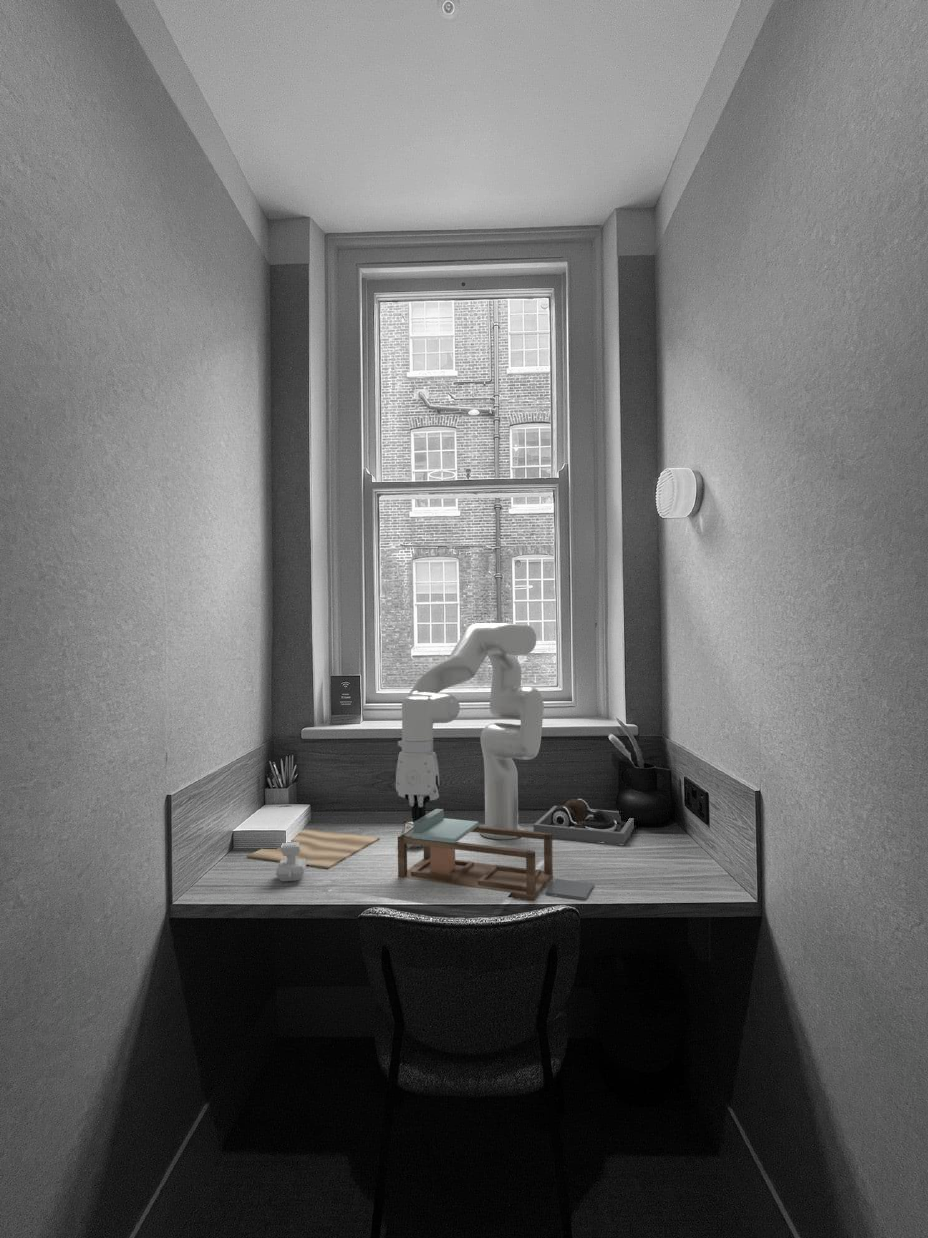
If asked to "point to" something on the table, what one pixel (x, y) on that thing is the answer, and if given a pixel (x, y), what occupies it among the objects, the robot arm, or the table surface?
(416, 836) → the lid
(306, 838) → the cork mat
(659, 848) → the table surface
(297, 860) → the stamp
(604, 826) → the headset
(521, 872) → the frame
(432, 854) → the block
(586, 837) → the tray rim
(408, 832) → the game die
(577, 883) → the coaster
